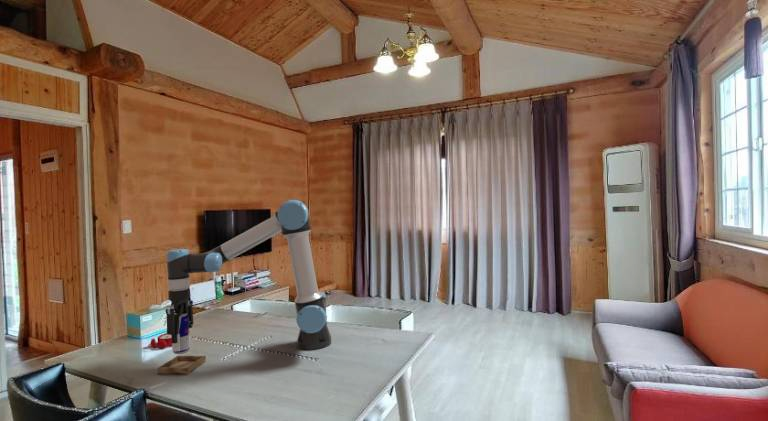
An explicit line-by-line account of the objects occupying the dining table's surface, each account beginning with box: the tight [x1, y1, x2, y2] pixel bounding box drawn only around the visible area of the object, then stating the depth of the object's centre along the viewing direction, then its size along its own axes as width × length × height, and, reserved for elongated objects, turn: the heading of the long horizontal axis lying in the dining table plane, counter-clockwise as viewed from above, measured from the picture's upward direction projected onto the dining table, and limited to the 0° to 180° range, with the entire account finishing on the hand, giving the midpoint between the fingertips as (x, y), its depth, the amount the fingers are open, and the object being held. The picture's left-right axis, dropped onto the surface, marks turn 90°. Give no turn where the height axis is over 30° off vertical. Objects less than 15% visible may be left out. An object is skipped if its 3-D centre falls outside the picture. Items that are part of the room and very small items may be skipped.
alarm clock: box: [147, 332, 172, 350], centre depth 176 cm, size 10×6×15 cm
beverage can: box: [172, 313, 190, 355], centre depth 149 cm, size 6×6×15 cm
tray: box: [157, 355, 207, 376], centre depth 149 cm, size 12×12×2 cm
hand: (181, 347), depth 149 cm, fingers closed on beverage can, 5 cm apart
